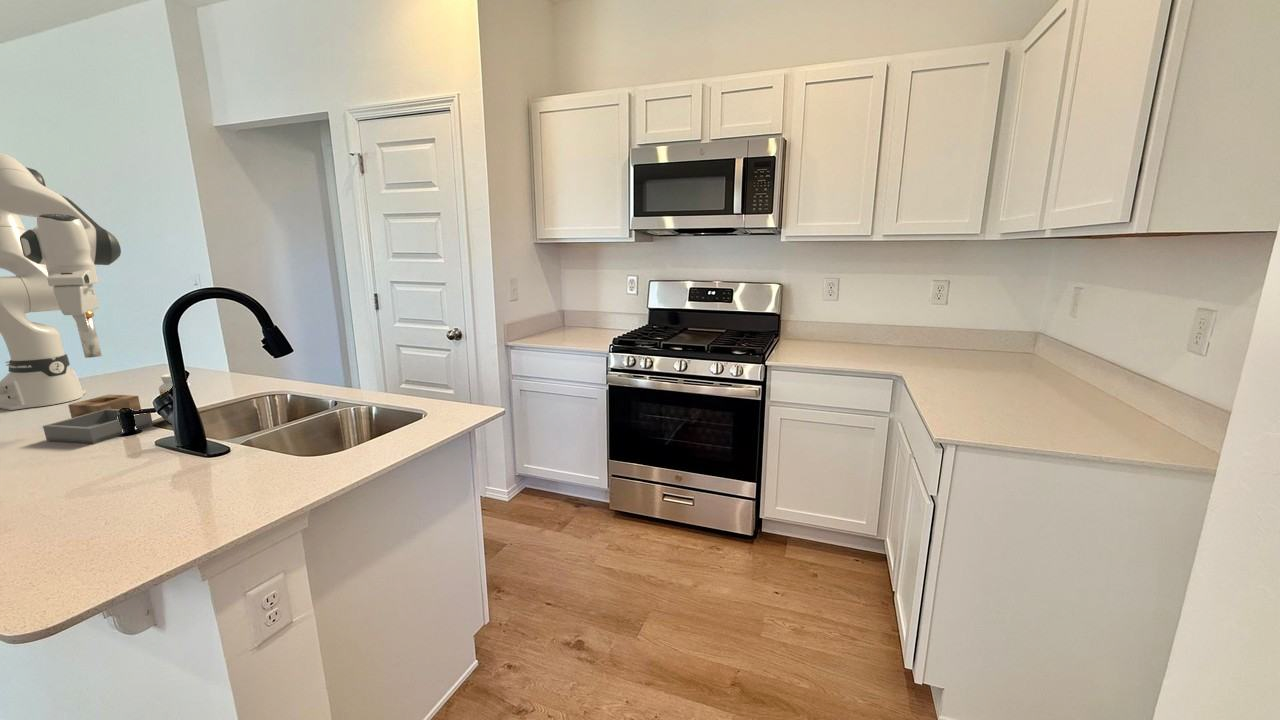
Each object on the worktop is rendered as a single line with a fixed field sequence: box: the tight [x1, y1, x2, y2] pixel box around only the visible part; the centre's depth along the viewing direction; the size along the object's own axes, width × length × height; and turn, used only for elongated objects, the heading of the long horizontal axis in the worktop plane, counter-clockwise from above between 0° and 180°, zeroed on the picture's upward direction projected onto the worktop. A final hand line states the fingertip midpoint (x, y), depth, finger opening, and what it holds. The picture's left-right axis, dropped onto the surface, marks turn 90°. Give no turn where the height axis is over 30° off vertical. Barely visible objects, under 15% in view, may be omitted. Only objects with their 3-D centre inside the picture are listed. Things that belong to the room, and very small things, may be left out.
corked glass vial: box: [71, 310, 103, 359], centre depth 140 cm, size 4×4×12 cm
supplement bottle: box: [158, 373, 193, 397], centre depth 146 cm, size 7×7×13 cm
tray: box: [42, 409, 154, 445], centre depth 135 cm, size 14×14×4 cm
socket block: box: [67, 394, 142, 419], centre depth 148 cm, size 10×10×5 cm
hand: (86, 329), depth 140 cm, fingers closed on corked glass vial, 3 cm apart
